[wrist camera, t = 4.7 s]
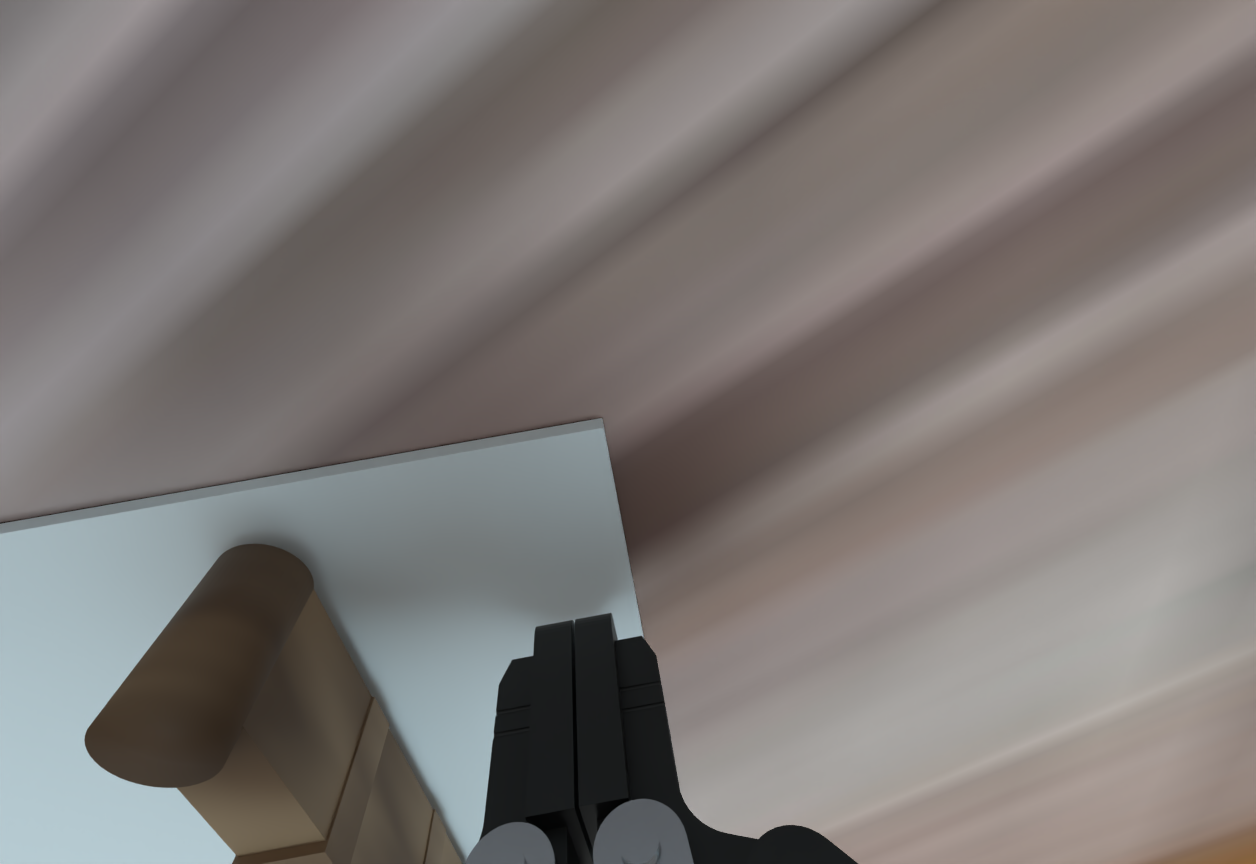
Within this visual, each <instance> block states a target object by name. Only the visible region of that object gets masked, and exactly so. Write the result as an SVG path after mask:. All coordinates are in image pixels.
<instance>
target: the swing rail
mask: <svg viewBox="0 0 1256 864" xmlns="http://www.w3.org/2000/svg"><path fill="white" fill-rule="evenodd" d="M84 741H85V747H86V749H87V752H88V753H89V755H90V757H91V758H92V759H93V760H94V761H95V762H96V763H97V764H98V765H99V766H100V767H102V768H103V769H104V770H106V771H108V772H109V773H111V774H113V775H115V776H117V777H119V778H121V779H124V780H127V781H129V782H133V783H136V784H140V785H145V786H151V787H160V788H177V789H178V790H179V791H180V792H181V793H182V794H183V796H184V797H185V798H186V799H187V800H188V801H189V802H190V804H191V805H192V806H193V807H194V808H195V809H196V810H197V811H198V813H199V814H200V815H201V816H202V817H203V818H204V819H205V821H206V822H207V823H208V824H209V825H210V826H211V827H212V828H213V830H214V831H215V832H216V833H217V834H218V835H219V836H220V838H221V839H222V840H223V841H224V842H225V843H226V844H227V845H228V847H229V848H230V849H231V850H232V851H233V852H234V853H235V855H236V856H235V858H234V860H233V863H232V864H462V862H461V860H460V858H459V856H458V855H457V853H456V851H455V849H454V847H453V845H452V844H451V842H450V840H449V838H448V836H447V834H446V829H445V827H444V825H443V823H442V821H441V819H440V817H439V816H438V814H437V812H436V810H435V809H433V808H432V807H431V805H430V803H429V801H428V799H427V797H426V795H425V794H424V792H423V790H422V788H421V786H420V784H419V782H418V781H417V779H416V777H415V775H414V773H413V771H412V770H411V768H410V766H409V764H408V762H407V760H406V758H405V757H404V755H403V753H402V751H401V749H400V747H399V745H398V744H397V742H396V740H395V738H394V736H393V734H392V733H391V731H390V729H389V723H388V721H387V719H386V717H385V715H384V713H383V711H382V710H381V708H380V706H379V704H378V702H377V700H376V698H375V697H372V696H371V694H370V692H369V690H368V688H367V686H366V684H365V683H364V681H363V679H362V677H361V675H360V673H359V672H358V670H357V668H356V666H355V664H354V662H353V660H352V659H351V657H350V655H349V653H348V651H347V649H346V647H345V646H344V644H343V642H342V640H341V638H340V636H339V635H338V633H337V631H336V629H335V627H334V625H333V623H332V622H331V620H330V618H329V616H328V614H327V612H326V611H325V609H324V607H323V605H322V603H321V601H320V599H319V598H318V596H317V594H316V592H315V590H314V581H313V577H312V575H311V572H310V571H309V569H308V568H307V566H306V565H305V564H304V563H303V562H302V561H301V560H300V559H299V558H297V557H296V556H294V555H293V554H291V553H289V552H287V551H285V550H283V549H281V548H278V547H275V546H271V545H265V544H244V545H239V546H236V547H233V548H231V549H229V550H227V551H225V552H224V553H223V554H222V555H221V556H220V557H219V558H218V559H217V560H216V562H215V563H214V564H213V565H212V567H211V568H210V569H209V571H208V572H207V573H206V575H205V576H204V577H203V579H202V580H201V581H200V582H199V584H198V585H197V586H196V588H195V589H194V590H193V592H192V593H191V594H190V595H189V597H188V598H187V599H186V601H185V602H184V603H183V605H182V606H181V607H180V609H179V610H178V611H177V612H176V614H175V615H174V616H173V618H172V619H171V620H170V622H169V623H168V624H167V626H166V627H165V628H164V629H163V631H162V632H161V633H160V635H159V636H158V637H157V639H156V640H155V641H154V642H153V644H152V645H151V646H150V648H149V649H148V650H147V652H146V653H145V654H144V656H143V657H142V658H141V659H140V661H139V662H138V663H137V665H136V666H135V667H134V669H133V670H132V671H131V672H130V674H129V675H128V676H127V678H126V679H125V680H124V682H123V683H122V684H121V686H120V687H119V688H118V689H117V691H116V692H115V693H114V695H113V696H112V697H111V699H110V700H109V701H108V702H107V704H106V705H105V706H104V708H103V709H102V710H101V712H100V713H99V714H98V716H97V717H96V718H95V719H94V721H93V722H92V723H91V725H90V726H89V728H88V729H87V731H86V734H85V739H84Z"/></svg>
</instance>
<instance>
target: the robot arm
mask: <svg viewBox="0 0 1256 864" xmlns="http://www.w3.org/2000/svg"><path fill="white" fill-rule="evenodd" d="M465 864H858V863H857V862H855V861H854V860H853V859H852V858H850V857H849V856H848V855H847V854H845V853H844V852H843V851H842V850H840V849H839V848H838V847H837V846H835V845H834V844H833V843H832V842H830V841H829V840H828V839H827V838H825V837H824V836H822V835H821V834H819V833H818V832H815V831H813V830H811V829H809V828H806V827H802V826H796V825H785V826H780V827H776V828H774V829H772V830H770V831H768V832H766V833H765V834H764V835H762V836H761V837H760V838H759V839H754V838H748V837H743V836H738V835H732V834H727V833H723V832H720V831H717V830H715V829H712V828H710V827H708V826H707V825H705V824H704V823H702V822H701V821H700V820H699V819H697V818H696V817H695V816H694V815H693V813H692V812H691V811H690V810H689V809H688V807H687V805H686V804H685V802H684V800H683V798H682V795H681V793H680V788H679V782H678V777H677V771H676V765H675V759H674V754H673V748H672V742H671V736H670V730H669V725H668V719H667V713H666V707H665V702H664V696H663V691H662V685H661V680H660V674H659V669H658V663H657V658H656V655H655V653H654V652H653V650H652V649H651V648H650V646H649V645H648V644H647V642H646V641H645V640H644V638H643V637H642V636H638V637H632V638H627V639H621V640H618V638H617V634H616V629H615V625H614V620H613V616H612V613H607V614H601V615H596V616H590V617H585V618H579V619H575V623H574V621H573V620H569V621H564V622H558V623H553V624H547V625H542V626H537V627H536V628H535V633H534V651H533V656H529V657H524V658H518V659H513V660H512V661H511V663H510V665H509V666H508V668H507V670H506V672H505V674H504V676H503V678H502V680H501V681H500V683H499V688H498V697H497V706H496V716H495V724H494V739H493V743H492V752H491V761H490V770H489V779H488V788H487V797H486V806H485V816H484V823H483V829H482V833H481V836H480V839H479V842H478V843H477V844H476V846H475V847H474V848H473V850H472V851H471V853H470V854H469V856H468V858H467V860H466V862H465Z"/></svg>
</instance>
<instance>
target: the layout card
mask: <svg viewBox="0 0 1256 864" xmlns="http://www.w3.org/2000/svg"><path fill="white" fill-rule="evenodd" d="M244 544H265V545H271V546H275V547H278V548H281V549H283V550H285V551H287V552H289V553H291V554H293V555H294V556H296V557H297V558H299V559H300V560H301V561H302V562H303V563H304V564H305V565H306V566H307V568H308V569H309V571H310V572H311V575H312V577H313V581H314V590H315V592H316V594H317V596H318V598H319V599H320V601H321V603H322V605H323V607H324V609H325V611H326V612H327V614H328V616H329V618H330V620H331V622H332V623H333V625H334V627H335V629H336V631H337V633H338V635H339V636H340V638H341V640H342V642H343V644H344V646H345V647H346V649H347V651H348V653H349V655H350V657H351V659H352V660H353V662H354V664H355V666H356V668H357V670H358V672H359V673H360V675H361V677H362V679H363V681H364V683H365V684H366V686H367V688H368V690H369V692H370V694H371V696H372V697H375V698H376V700H377V702H378V704H379V706H380V708H381V710H382V711H383V713H384V715H385V717H386V719H387V721H388V723H389V729H390V731H391V733H392V734H393V736H394V738H395V740H396V742H397V744H398V745H399V747H400V749H401V751H402V753H403V755H404V757H405V758H406V760H407V762H408V764H409V766H410V768H411V770H412V771H413V773H414V775H415V777H416V779H417V781H418V782H419V784H420V786H421V788H422V790H423V792H424V794H425V795H426V797H427V799H428V801H429V803H430V805H431V807H432V808H433V809H435V810H436V812H437V814H438V816H439V817H440V819H441V821H442V823H443V825H444V827H445V829H446V834H447V836H448V838H449V840H450V842H451V844H452V845H453V847H454V849H455V851H456V853H457V855H458V856H459V858H460V860H461V862H462V864H465V862H466V860H467V858H468V856H469V854H470V853H471V851H472V850H473V848H474V847H475V846H476V844H477V843H478V842H479V839H480V836H481V833H482V829H483V823H484V816H485V806H486V797H487V788H488V779H489V770H490V761H491V752H492V743H493V739H494V724H495V716H496V706H497V697H498V688H499V683H500V681H501V680H502V678H503V676H504V674H505V672H506V670H507V668H508V666H509V665H510V663H511V661H512V660H513V659H518V658H524V657H529V656H533V651H534V633H535V628H536V627H537V626H542V625H547V624H553V623H558V622H564V621H569V620H573V621H574V623H575V619H579V618H585V617H590V616H596V615H601V614H607V613H612V616H613V620H614V625H615V629H616V634H617V638H618V640H621V639H627V638H632V637H638V636H642V637H643V638H644V635H643V630H642V625H641V619H640V614H639V609H638V604H637V598H636V593H635V588H634V582H633V577H632V572H631V567H630V561H629V556H628V551H627V546H626V540H625V535H624V530H623V525H622V519H621V514H620V509H619V504H618V498H617V493H616V488H615V482H614V477H613V472H612V467H611V461H610V456H609V451H608V446H607V440H606V435H605V430H604V425H603V419H602V418H599V419H593V420H588V421H582V422H576V423H571V424H565V425H559V426H554V427H548V428H542V429H537V430H531V431H525V432H520V433H514V434H508V435H502V436H497V437H491V438H485V439H480V440H474V441H468V442H463V443H457V444H451V445H446V446H440V447H434V448H429V449H423V450H417V451H412V452H406V453H400V454H394V455H389V456H383V457H377V458H372V459H366V460H360V461H355V462H349V463H343V464H338V465H332V466H326V467H321V468H315V469H309V470H303V471H298V472H292V473H286V474H281V475H275V476H269V477H264V478H258V479H252V480H247V481H241V482H235V483H230V484H224V485H218V486H213V487H207V488H201V489H195V490H190V491H184V492H178V493H173V494H167V495H161V496H156V497H150V498H144V499H139V500H133V501H127V502H122V503H116V504H110V505H105V506H99V507H93V508H87V509H82V510H76V511H70V512H65V513H59V514H53V515H48V516H42V517H36V518H31V519H25V520H19V521H14V522H8V523H2V524H0V864H232V863H233V860H234V858H235V856H236V855H235V853H234V852H233V851H232V850H231V849H230V848H229V847H228V845H227V844H226V843H225V842H224V841H223V840H222V839H221V838H220V836H219V835H218V834H217V833H216V832H215V831H214V830H213V828H212V827H211V826H210V825H209V824H208V823H207V822H206V821H205V819H204V818H203V817H202V816H201V815H200V814H199V813H198V811H197V810H196V809H195V808H194V807H193V806H192V805H191V804H190V802H189V801H188V800H187V799H186V798H185V797H184V796H183V794H182V793H181V792H180V791H179V790H178V789H177V788H160V787H151V786H145V785H140V784H136V783H133V782H129V781H127V780H124V779H121V778H119V777H117V776H115V775H113V774H111V773H109V772H108V771H106V770H104V769H103V768H102V767H100V766H99V765H98V764H97V763H96V762H95V761H94V760H93V759H92V758H91V757H90V755H89V753H88V752H87V749H86V747H85V741H84V739H85V734H86V731H87V729H88V728H89V726H90V725H91V723H92V722H93V721H94V719H95V718H96V717H97V716H98V714H99V713H100V712H101V710H102V709H103V708H104V706H105V705H106V704H107V702H108V701H109V700H110V699H111V697H112V696H113V695H114V693H115V692H116V691H117V689H118V688H119V687H120V686H121V684H122V683H123V682H124V680H125V679H126V678H127V676H128V675H129V674H130V672H131V671H132V670H133V669H134V667H135V666H136V665H137V663H138V662H139V661H140V659H141V658H142V657H143V656H144V654H145V653H146V652H147V650H148V649H149V648H150V646H151V645H152V644H153V642H154V641H155V640H156V639H157V637H158V636H159V635H160V633H161V632H162V631H163V629H164V628H165V627H166V626H167V624H168V623H169V622H170V620H171V619H172V618H173V616H174V615H175V614H176V612H177V611H178V610H179V609H180V607H181V606H182V605H183V603H184V602H185V601H186V599H187V598H188V597H189V595H190V594H191V593H192V592H193V590H194V589H195V588H196V586H197V585H198V584H199V582H200V581H201V580H202V579H203V577H204V576H205V575H206V573H207V572H208V571H209V569H210V568H211V567H212V565H213V564H214V563H215V562H216V560H217V559H218V558H219V557H220V556H221V555H222V554H223V553H224V552H225V551H227V550H229V549H231V548H233V547H236V546H239V545H244Z"/></svg>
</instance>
